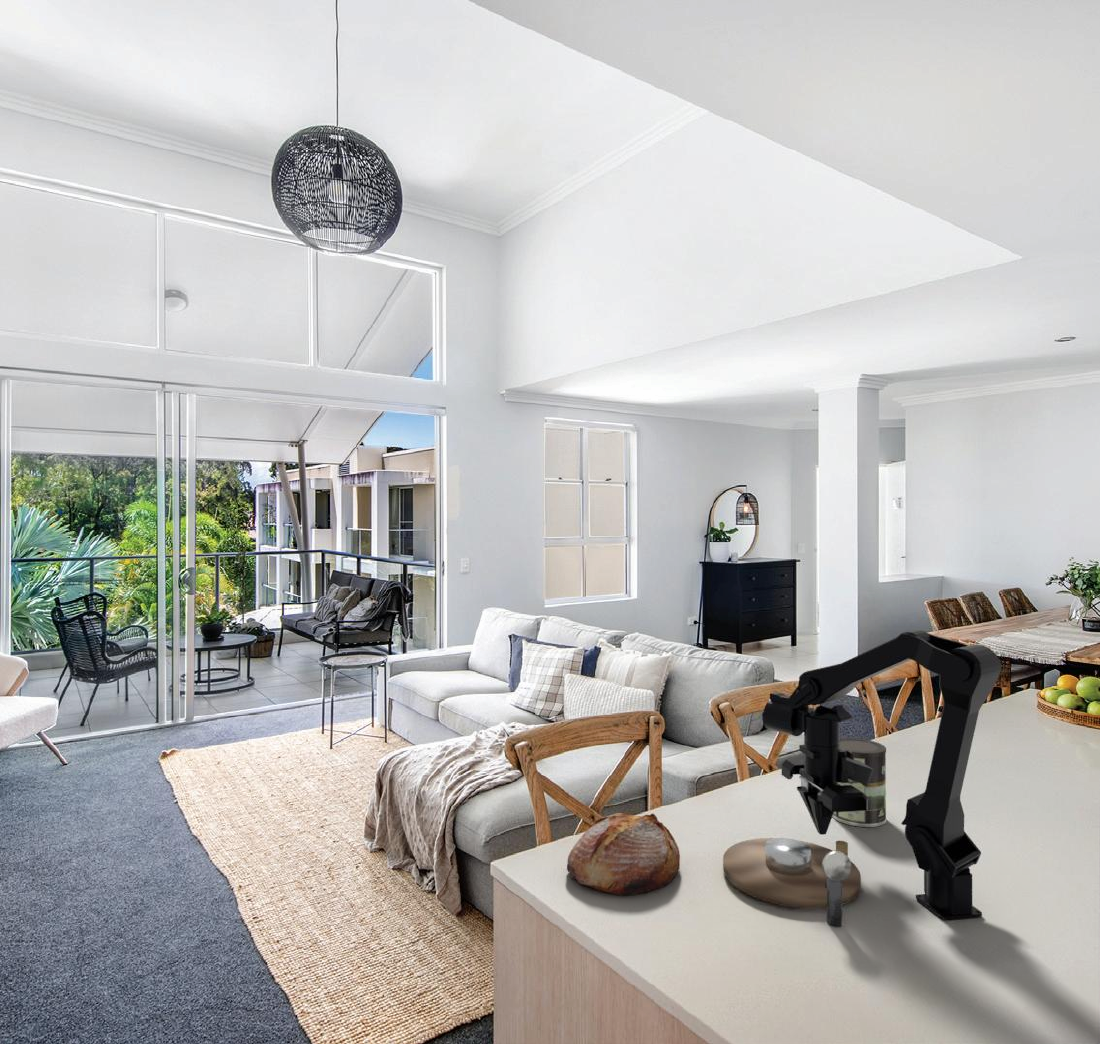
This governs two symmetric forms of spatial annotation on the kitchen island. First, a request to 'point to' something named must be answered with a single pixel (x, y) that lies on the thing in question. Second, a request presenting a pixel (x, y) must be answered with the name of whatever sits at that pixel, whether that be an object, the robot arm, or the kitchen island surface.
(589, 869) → the bread
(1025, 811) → the kitchen island surface
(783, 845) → the cover
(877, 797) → the coffee can
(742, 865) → the disc
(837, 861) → the ice cream scoop
